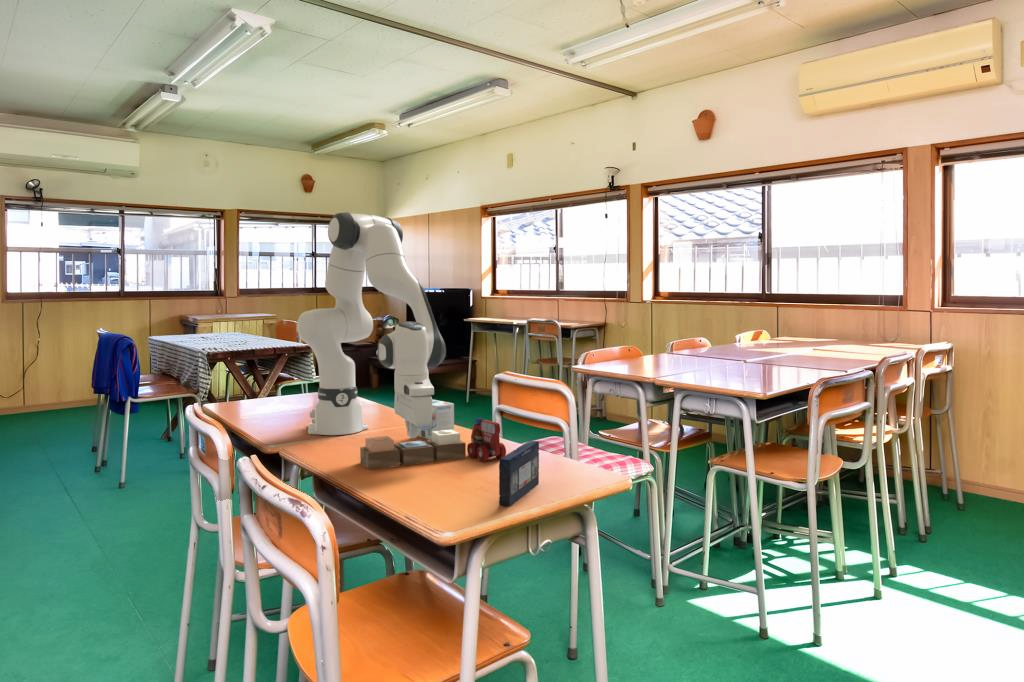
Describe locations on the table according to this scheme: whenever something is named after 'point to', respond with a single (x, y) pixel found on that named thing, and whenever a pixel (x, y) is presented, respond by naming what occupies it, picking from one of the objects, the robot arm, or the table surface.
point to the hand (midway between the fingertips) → (412, 437)
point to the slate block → (413, 444)
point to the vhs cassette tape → (518, 473)
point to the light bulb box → (438, 419)
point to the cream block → (445, 437)
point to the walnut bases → (412, 455)
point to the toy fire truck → (485, 441)
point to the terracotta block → (379, 444)
